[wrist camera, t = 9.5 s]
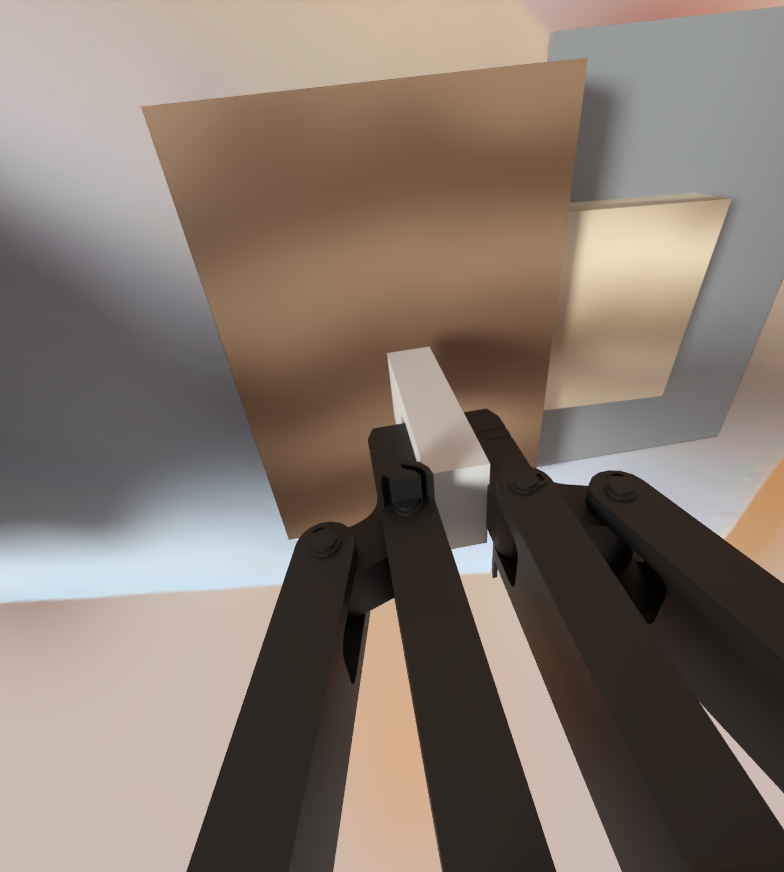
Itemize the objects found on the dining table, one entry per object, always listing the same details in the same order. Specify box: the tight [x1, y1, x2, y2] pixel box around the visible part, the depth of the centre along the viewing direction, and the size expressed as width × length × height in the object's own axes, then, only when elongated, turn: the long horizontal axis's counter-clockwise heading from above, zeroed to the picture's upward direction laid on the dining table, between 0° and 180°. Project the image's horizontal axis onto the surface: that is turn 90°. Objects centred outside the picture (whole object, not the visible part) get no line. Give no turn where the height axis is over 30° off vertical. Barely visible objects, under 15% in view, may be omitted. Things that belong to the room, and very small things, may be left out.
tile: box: [544, 193, 732, 410], centre depth 21 cm, size 9×7×2 cm
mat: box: [536, 7, 784, 467], centre depth 22 cm, size 20×13×1 cm, turn 6°
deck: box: [141, 58, 588, 540], centre depth 20 cm, size 18×13×4 cm
